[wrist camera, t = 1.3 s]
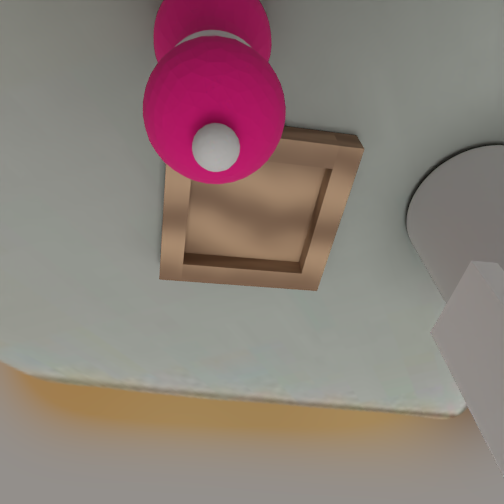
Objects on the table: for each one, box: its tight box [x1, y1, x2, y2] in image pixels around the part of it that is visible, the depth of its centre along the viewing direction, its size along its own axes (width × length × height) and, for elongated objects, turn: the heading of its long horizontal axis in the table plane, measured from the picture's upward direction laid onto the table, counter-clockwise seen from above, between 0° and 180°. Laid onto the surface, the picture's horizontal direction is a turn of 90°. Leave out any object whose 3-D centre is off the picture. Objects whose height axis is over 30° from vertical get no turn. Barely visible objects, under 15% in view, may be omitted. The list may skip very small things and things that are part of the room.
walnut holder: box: [159, 126, 364, 291], centre depth 41 cm, size 15×15×2 cm
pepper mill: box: [143, 0, 286, 184], centre depth 24 cm, size 7×7×20 cm
